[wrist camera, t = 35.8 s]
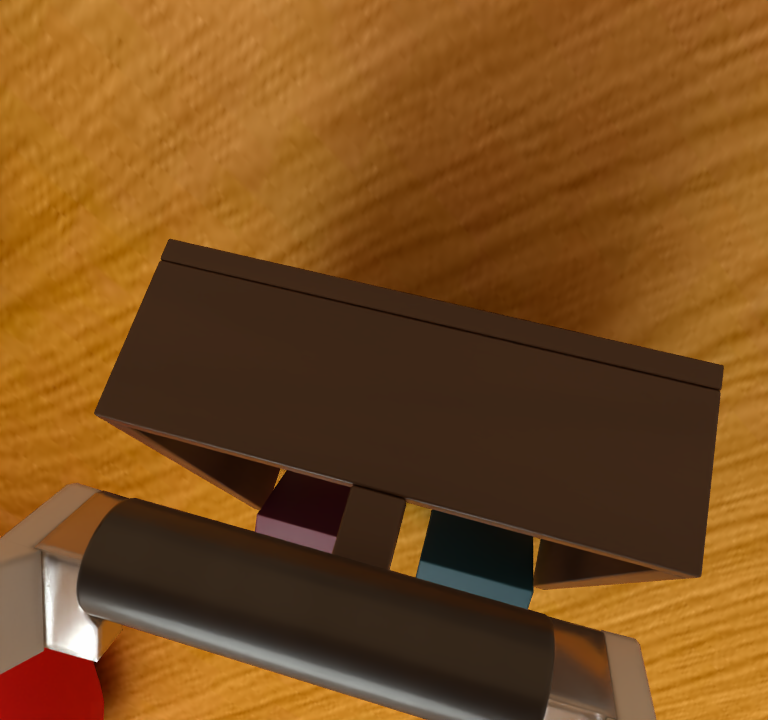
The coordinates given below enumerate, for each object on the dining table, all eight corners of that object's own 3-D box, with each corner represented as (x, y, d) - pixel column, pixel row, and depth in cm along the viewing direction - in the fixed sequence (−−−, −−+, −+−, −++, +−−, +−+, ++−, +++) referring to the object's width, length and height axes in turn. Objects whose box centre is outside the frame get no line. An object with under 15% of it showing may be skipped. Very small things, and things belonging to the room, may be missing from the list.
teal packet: (419, 560, 26) (408, 608, 27) (534, 591, 25) (517, 640, 26) (439, 480, 31) (429, 523, 32) (533, 505, 31) (519, 547, 32)
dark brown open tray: (59, 74, 11) (-193, 535, 9) (890, 240, 9) (881, 872, 7) (285, 413, 31) (229, 580, 29) (564, 485, 29) (531, 670, 27)
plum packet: (256, 514, 27) (250, 562, 28) (363, 544, 26) (353, 592, 27) (303, 444, 32) (297, 487, 33) (392, 468, 32) (383, 510, 32)
